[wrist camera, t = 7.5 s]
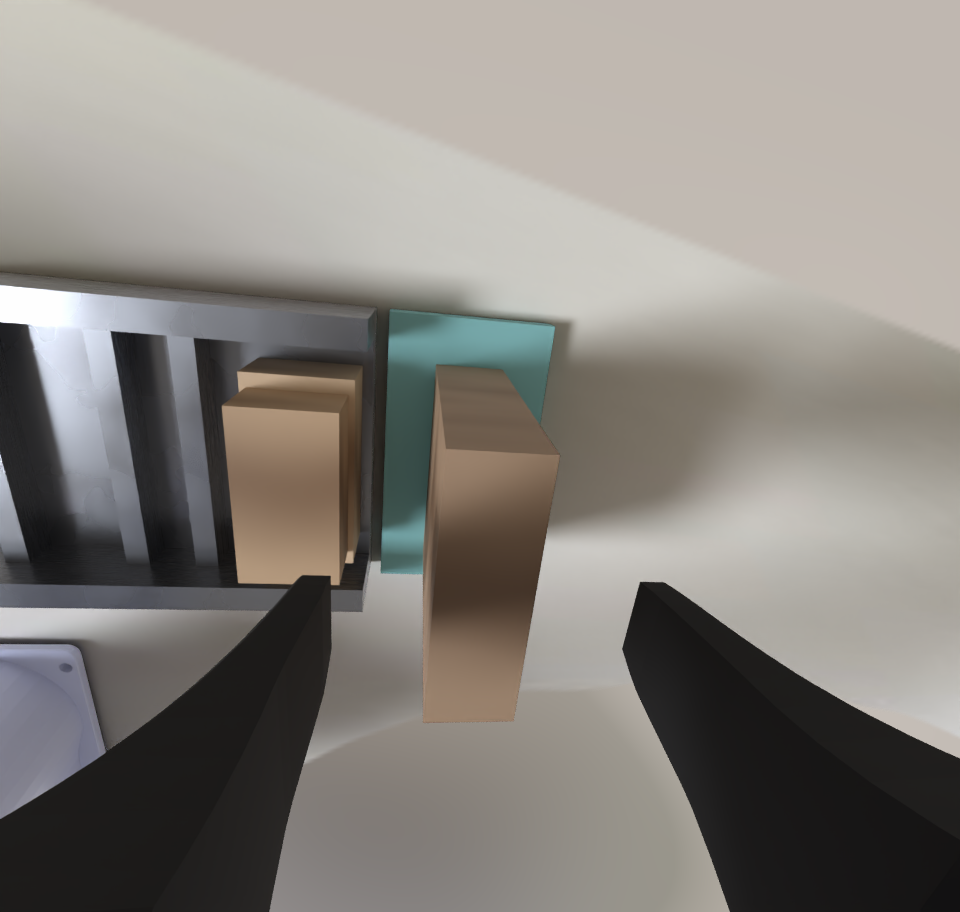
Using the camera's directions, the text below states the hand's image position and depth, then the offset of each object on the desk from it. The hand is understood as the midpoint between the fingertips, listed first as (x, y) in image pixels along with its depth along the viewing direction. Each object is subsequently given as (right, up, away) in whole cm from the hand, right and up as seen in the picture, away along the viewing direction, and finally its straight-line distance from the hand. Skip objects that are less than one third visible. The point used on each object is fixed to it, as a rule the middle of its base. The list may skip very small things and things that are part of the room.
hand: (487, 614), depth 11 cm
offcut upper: (-6, +3, +6) cm, 9 cm away
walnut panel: (-1, +3, +9) cm, 9 cm away
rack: (-11, +4, +8) cm, 14 cm away
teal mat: (-1, +4, +9) cm, 10 cm away
